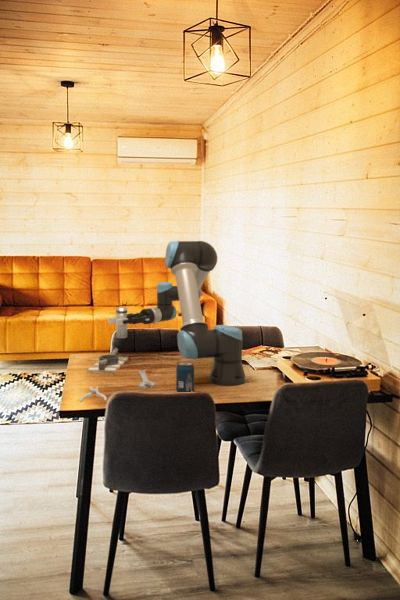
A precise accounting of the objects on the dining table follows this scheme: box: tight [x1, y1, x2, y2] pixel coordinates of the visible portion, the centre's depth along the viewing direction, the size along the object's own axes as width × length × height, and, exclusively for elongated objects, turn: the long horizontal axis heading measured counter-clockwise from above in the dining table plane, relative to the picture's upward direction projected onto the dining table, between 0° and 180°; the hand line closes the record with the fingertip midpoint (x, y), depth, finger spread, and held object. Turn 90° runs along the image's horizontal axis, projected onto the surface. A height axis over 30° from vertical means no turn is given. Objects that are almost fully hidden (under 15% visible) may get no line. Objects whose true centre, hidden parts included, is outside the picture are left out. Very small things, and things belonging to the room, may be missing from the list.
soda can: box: [175, 361, 195, 393], centre depth 225 cm, size 7×7×12 cm
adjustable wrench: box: [138, 369, 156, 390], centre depth 243 cm, size 25×6×2 cm, turn 7°
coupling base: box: [86, 347, 130, 375], centre depth 265 cm, size 26×12×5 cm, turn 173°
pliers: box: [79, 386, 108, 403], centre depth 222 cm, size 10×2×15 cm
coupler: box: [115, 306, 128, 339], centre depth 270 cm, size 5×5×14 cm
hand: (112, 321), depth 266 cm, fingers closed on coupler, 5 cm apart
